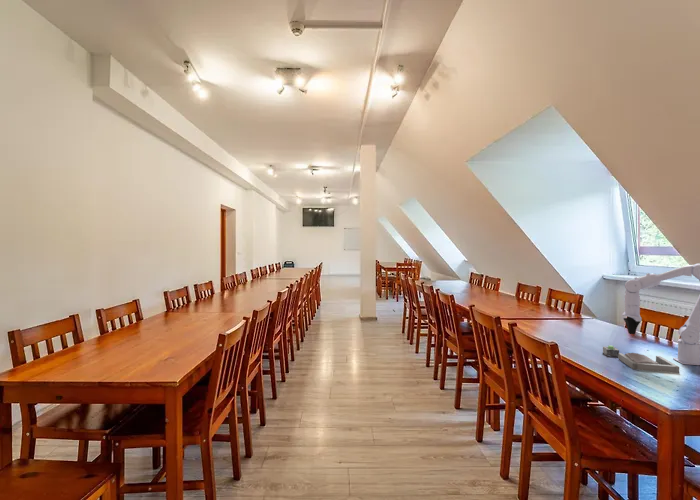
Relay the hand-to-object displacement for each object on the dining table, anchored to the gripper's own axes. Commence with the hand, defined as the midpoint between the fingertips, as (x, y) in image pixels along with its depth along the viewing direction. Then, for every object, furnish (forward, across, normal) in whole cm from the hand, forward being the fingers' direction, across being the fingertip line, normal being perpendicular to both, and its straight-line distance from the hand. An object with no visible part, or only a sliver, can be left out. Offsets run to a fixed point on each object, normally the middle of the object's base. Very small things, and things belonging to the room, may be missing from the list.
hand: (631, 333), depth 179 cm
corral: (+10, +17, 0) cm, 20 cm away
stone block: (+10, +17, -2) cm, 20 cm away
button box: (+10, +3, -10) cm, 14 cm away
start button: (+10, +3, -10) cm, 14 cm away
